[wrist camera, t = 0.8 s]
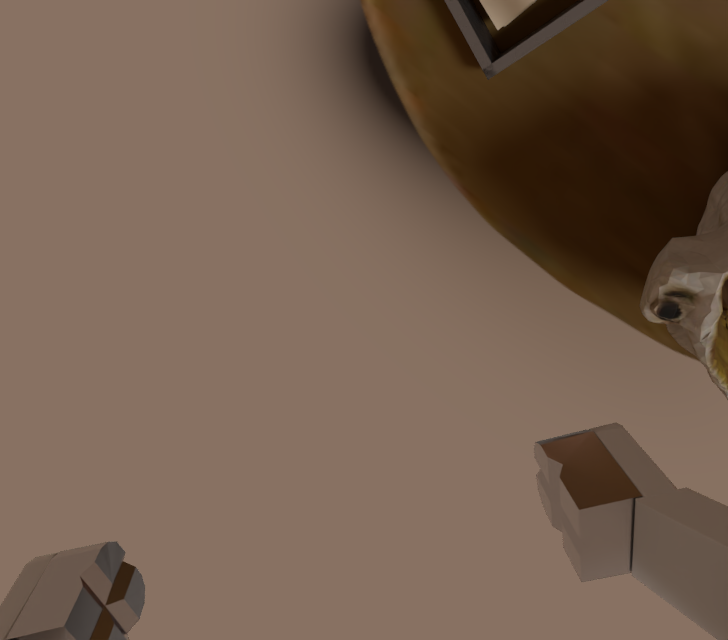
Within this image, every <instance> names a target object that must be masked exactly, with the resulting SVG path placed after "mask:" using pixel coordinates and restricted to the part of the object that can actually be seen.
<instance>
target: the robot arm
mask: <svg viewBox="0 0 728 640" xmlns="http://www.w3.org/2000/svg"><path fill="white" fill-rule="evenodd" d="M534 455H535V459H536V461H537V463H538V465H539V466H540V468H541V469H540V471H539V472H538V473H537V475H536V477H537V485H538V490H539V494H540V497H541V501H542V504H543V507H544V509H545V512H546V514H547V516H548V518H549V520H550V522H551V524H552V526H553V527H555V528H556V529H558V530H560V531H561V532H562V533H563V546H564V549H565V552H566V553H567V555H568V557H569V559H570V561H571V563H572V565H573V567H574V569H575V571H576V572H577V575H578V576H579V578H580V580H581V582H585V581H591V580H595V579H601V578H606V577H612V576H617V575H622V574H628V573H632V576H633V577H635V578H636V579H637V580H639V581H640V582H641V583H643V584H644V585H645V586H647V587H648V588H649V589H651V590H652V591H653V592H655V593H656V594H657V595H659V596H660V597H661V598H663V599H664V600H665V601H667V602H668V603H669V604H671V605H672V606H673V607H675V608H676V609H677V610H679V611H680V612H681V613H683V614H684V615H685V616H687V617H688V618H689V619H691V620H692V621H694V622H695V623H696V624H697V625H699V626H700V627H701V628H703V629H704V630H705V631H707V632H708V633H709V634H711V635H712V636H713V637H715V638H716V639H717V640H728V506H726V505H723V504H721V503H719V502H717V501H715V500H713V499H710V498H708V497H706V496H704V495H702V494H699V493H697V492H695V491H693V490H691V489H689V488H682V489H677V488H676V487H675V486H674V485H673V484H672V482H671V481H670V480H669V479H668V478H667V477H666V476H665V474H664V473H663V472H662V471H661V470H660V469H659V467H658V466H657V465H656V464H655V463H654V462H653V461H652V460H651V458H650V457H649V456H648V455H647V454H646V452H644V450H643V449H642V448H641V447H640V446H639V445H638V443H637V442H636V441H635V440H634V439H633V438H632V436H631V435H630V434H629V433H628V432H627V431H626V430H625V428H624V427H623V426H622V425H620V424H618V423H612V424H608V425H604V426H600V427H596V428H592V429H589V430H583V431H579V432H575V433H571V434H567V435H562V436H558V437H554V438H550V439H546V440H542V441H538V442H535V445H534ZM124 556H125V551H124V550H123V549H122V548H121V546H119V544H118V543H117V542H105V543H100V544H95V545H91V546H86V547H81V548H76V549H71V550H66V551H61V552H59V553H54V554H49V555H44V556H39V557H35V558H34V559H33V560H31V561H30V562H29V563H27V564H26V565H25V567H24V568H23V570H22V572H21V574H20V575H19V577H18V578H17V580H16V581H15V583H14V585H13V586H12V588H11V590H10V591H9V593H8V594H7V596H6V598H5V599H4V601H3V603H2V604H1V606H0V640H129V637H128V634H127V633H128V632H129V631H130V630H131V628H132V627H133V626H134V625H135V624H136V622H137V621H138V620H139V619H140V615H141V612H142V609H143V606H144V599H145V585H144V582H143V579H142V575H141V574H140V572H139V571H138V569H137V568H136V567H134V566H132V565H130V564H128V563H126V562H123V559H124Z"/></svg>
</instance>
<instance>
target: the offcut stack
mask: <svg viewBox="0 0 728 640" xmlns="http://www.w3.org/2000/svg"><path fill="white" fill-rule="evenodd" d="M535 1H537V0H480V2H481V4H482V5H483V7H484V9H485V10H486V12H487V14H488V15H489V17H490V19H491V20H492V22H493V23H494V25H495V27H496V28H497V30H499V29H500V28H501V27H503V26H504V27H505V26H506V25H508V24H509V23H510V22H511V21H512V20H514V19H515V18H516V17H517V16H518V15H520V14H521V13H522V12H523V11H525V10H526V9H527V8H528V7H529V6H531V5H532V4H533V3H534V2H535Z"/></svg>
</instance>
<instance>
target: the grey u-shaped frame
mask: <svg viewBox="0 0 728 640" xmlns="http://www.w3.org/2000/svg"><path fill="white" fill-rule="evenodd" d="M606 1H608V0H579V1H577V2H576V3H574V4H573V5H571V6H570V7H568V8H567V9H565V10H564V11H563V12H561V13H560V14H558V15H557V16H555V17H554V18H552V19H551V20H550V21H548V22H547V23H545V24H544V25H542V26H541V27H539V28H538V29H536V30H535V31H534V32H532V33H531V34H529V35H528V36H526V37H525V38H523V39H522V40H521V41H519V42H518V43H516V44H515V45H513V46H512V47H510V48H509V49H507V50H506V51H505V52H503V53H502V54H501V53H500V51H499V49H498V48H497V46H496V44H495V42H494V40H493V38H492V36H491V34H490V32H489V30H488V29H487V27H486V25H485V23H484V21H483V19H482V17H481V15H480V13H479V11H478V10H477V8H476V6H475V4H474V2H473V0H445V2H446V4H447V6H448V8H449V10H450V11H451V13H452V15H453V17H454V19H455V20H456V22H457V24H458V26H459V28H460V30H461V31H462V33H463V35H464V37H465V39H466V41H467V42H468V44H469V46H470V48H471V50H472V52H473V53H474V55H475V57H476V59H477V61H478V62H479V64H480V66H481V68H482V70H483V72H484V73H485V75H486V77H487V79H490V78H491V77H493V76H494V75H496V74H497V73H499V72H500V71H502V70H503V69H505V68H506V67H508V66H509V65H511V64H512V63H514V62H515V61H517V60H519V59H520V58H522V57H523V56H525V55H526V54H528V53H529V52H531V51H532V50H534V49H535V48H537V47H538V46H540V45H541V44H543V43H544V42H546V41H547V40H549V39H550V38H552V37H553V36H555V35H556V34H558V33H559V32H561V31H562V30H564V29H565V28H567V27H569V26H570V25H572V24H573V23H575V22H576V21H578V20H579V19H581V18H582V17H584V16H585V15H587V14H588V13H590V12H591V11H593V10H594V9H596V8H597V7H599V6H600V5H602V4H603V3H605V2H606Z"/></svg>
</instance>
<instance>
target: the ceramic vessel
mask: <svg viewBox="0 0 728 640" xmlns="http://www.w3.org/2000/svg"><path fill="white" fill-rule="evenodd" d="M640 309H641V312H642V314H643V315H644V316H645V317H646V318H647V320H648V321H651V322H655V323H665V324H666V326H667V329H668V331H669V333H670V334H671V335H672V336H673V338H674V339H675V340H676V341H677V342H678V344H680V345H681V346H682V347H683V348H685V349H686V350H687V351H689V352H690V353H692V354H694V355H695V356H696V357H697V358H698V359H699V360H700V361H701V363H702V364H703V365H704V366H705V367H706V369H707V370H708V373H709V375H710V377H711V379H712V381H713V383H715V384H716V385H717V387H718V388H719V389H720V390H721V391H722V393H723V394H724V395H725V396H726V398H727V400H728V171H727V172H726V173H725V174H723V175H722V176H721V177H720V179H719V180H718V181H717V183H716V184H715V185H714V187H713V188H712V190H711V192H710V195H709V198H708V202H707V206H706V209H705V212H704V214H703V217H702V219H701V222H700V223H699V225H698V229H697V234H696V236H687V237H677V238H672V239H671V240H670V241H669V242H668V243H667V245H666V246H665V247H664V248H663V249H662V250H661V251H660V253H659V254H658V255H657V257H656V259H655V261H654V262H653V264H652V266H651V268H650V271H649V274H648V277H647V280H646V283H645V286H644V290H643V294H642V298H641V302H640Z"/></svg>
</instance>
